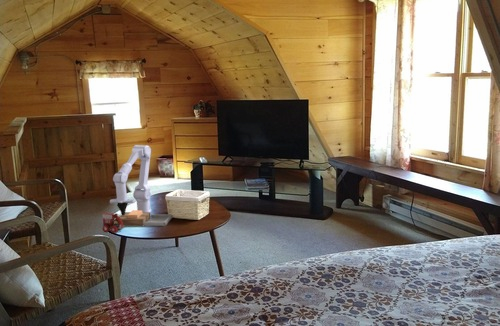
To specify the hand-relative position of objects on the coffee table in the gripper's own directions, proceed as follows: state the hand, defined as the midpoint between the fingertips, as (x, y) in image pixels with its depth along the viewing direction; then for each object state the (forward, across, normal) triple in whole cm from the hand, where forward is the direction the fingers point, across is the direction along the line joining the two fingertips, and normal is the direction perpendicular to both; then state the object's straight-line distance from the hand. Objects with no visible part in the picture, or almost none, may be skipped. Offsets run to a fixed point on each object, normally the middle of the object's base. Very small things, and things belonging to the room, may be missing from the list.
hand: (123, 214), depth 262 cm
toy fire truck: (+5, -1, -15) cm, 16 cm away
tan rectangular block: (+1, +7, 0) cm, 7 cm away
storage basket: (+5, +37, +12) cm, 39 cm away
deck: (+5, +6, 0) cm, 8 cm away
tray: (+5, +21, 0) cm, 22 cm away
